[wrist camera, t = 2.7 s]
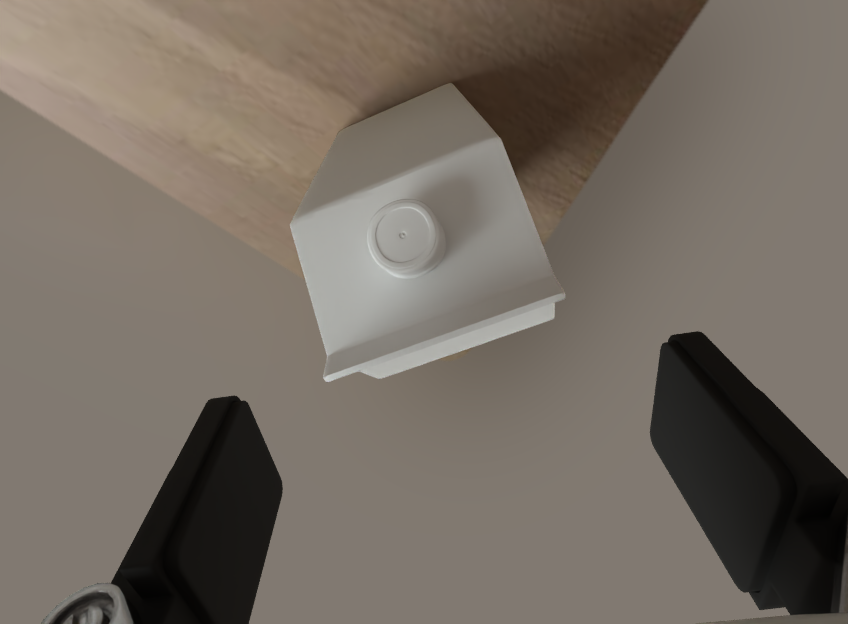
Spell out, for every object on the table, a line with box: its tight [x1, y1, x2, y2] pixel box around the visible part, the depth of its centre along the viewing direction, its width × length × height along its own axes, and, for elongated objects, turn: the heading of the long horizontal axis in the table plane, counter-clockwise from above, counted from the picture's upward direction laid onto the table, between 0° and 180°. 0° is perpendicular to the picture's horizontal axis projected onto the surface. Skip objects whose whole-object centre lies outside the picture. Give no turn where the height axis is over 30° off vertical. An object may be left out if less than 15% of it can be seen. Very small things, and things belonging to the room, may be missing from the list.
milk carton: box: [290, 83, 565, 382], centre depth 21 cm, size 7×7×19 cm
